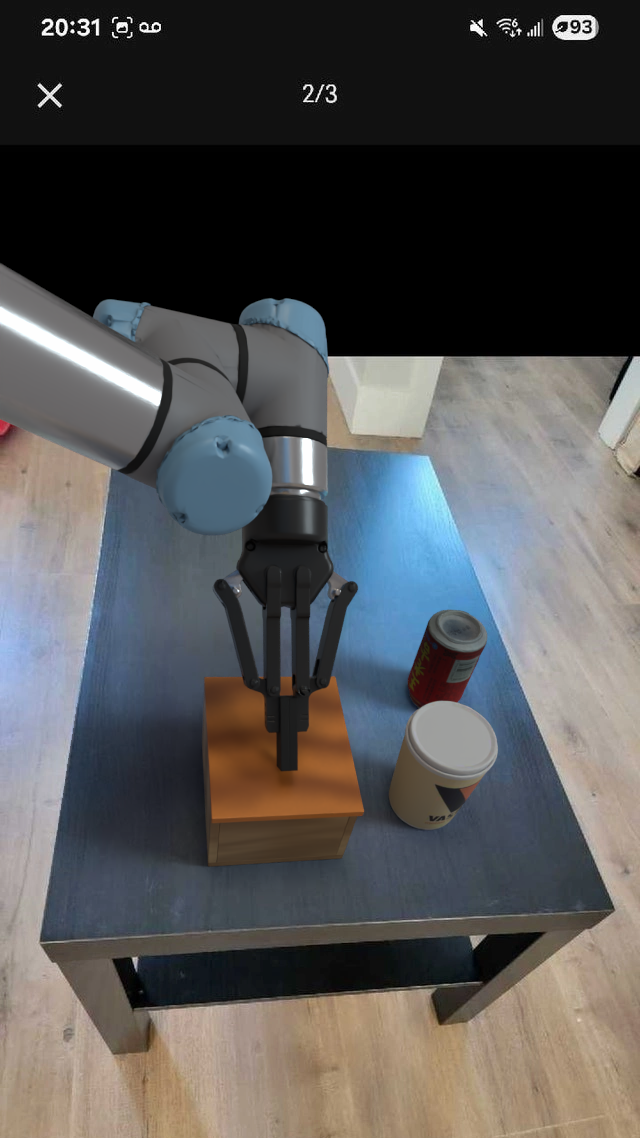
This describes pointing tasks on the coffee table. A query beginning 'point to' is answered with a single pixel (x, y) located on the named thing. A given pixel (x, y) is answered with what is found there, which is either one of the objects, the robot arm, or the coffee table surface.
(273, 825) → the chest
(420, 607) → the coffee table surface
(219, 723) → the lid
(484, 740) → the coffee cup
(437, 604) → the coffee table surface
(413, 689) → the soda can
